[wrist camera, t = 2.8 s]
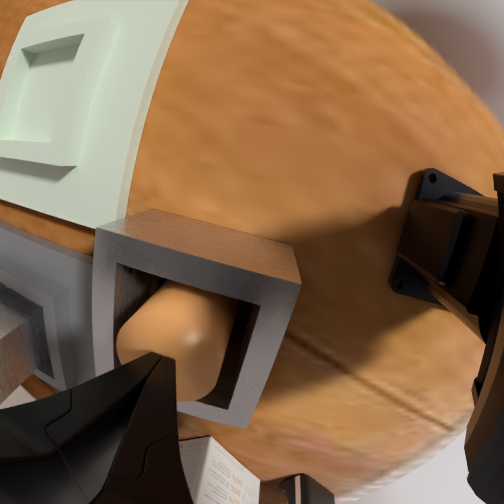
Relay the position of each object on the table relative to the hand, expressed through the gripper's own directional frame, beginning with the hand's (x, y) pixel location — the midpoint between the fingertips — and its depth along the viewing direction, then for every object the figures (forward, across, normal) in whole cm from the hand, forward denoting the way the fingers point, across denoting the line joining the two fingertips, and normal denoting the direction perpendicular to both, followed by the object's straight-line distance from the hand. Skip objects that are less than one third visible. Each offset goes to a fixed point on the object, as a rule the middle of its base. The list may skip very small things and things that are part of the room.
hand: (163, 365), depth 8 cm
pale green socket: (+6, +12, -9) cm, 16 cm away
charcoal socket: (+6, +12, +6) cm, 15 cm away
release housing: (+6, 0, 0) cm, 6 cm away
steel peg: (+5, +12, +6) cm, 14 cm away
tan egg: (+5, 0, 0) cm, 5 cm away
